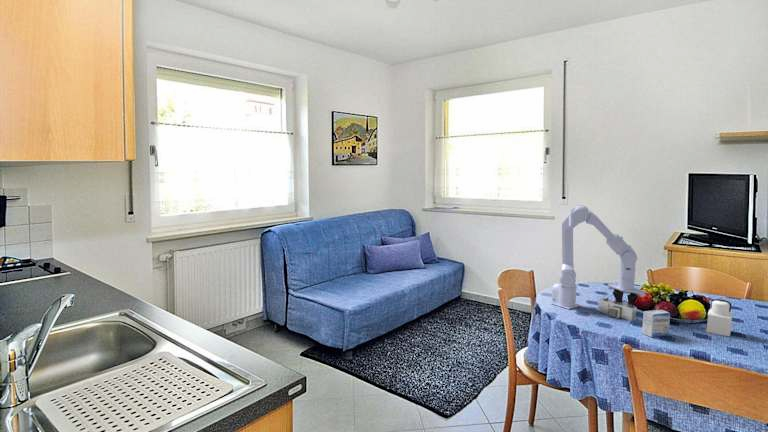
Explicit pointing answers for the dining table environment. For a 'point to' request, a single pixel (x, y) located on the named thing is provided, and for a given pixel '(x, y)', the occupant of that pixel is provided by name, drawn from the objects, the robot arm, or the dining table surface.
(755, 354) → the dining table surface
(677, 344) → the dining table surface
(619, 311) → the cream rectangular bar
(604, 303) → the bearing block
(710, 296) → the dining table surface
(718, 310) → the medicine bottle
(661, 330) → the medicine box
